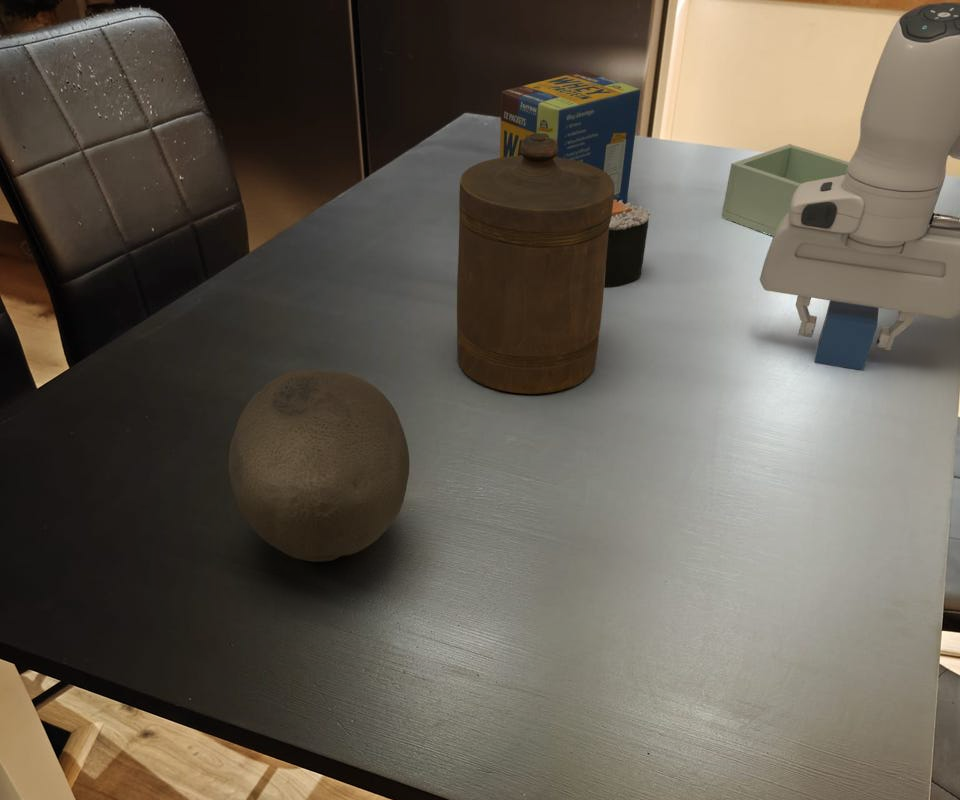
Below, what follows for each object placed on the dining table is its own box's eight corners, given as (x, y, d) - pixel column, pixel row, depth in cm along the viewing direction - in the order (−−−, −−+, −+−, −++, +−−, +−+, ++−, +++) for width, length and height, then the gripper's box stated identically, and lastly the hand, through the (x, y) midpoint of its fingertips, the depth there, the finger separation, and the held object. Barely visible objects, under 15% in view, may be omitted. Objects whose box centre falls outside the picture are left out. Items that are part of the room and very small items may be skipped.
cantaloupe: (207, 562, 75) (165, 395, 65) (322, 478, 84) (301, 319, 73) (342, 631, 70) (321, 462, 59) (450, 534, 78) (449, 371, 68)
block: (864, 349, 102) (879, 305, 99) (862, 370, 99) (877, 326, 96) (818, 341, 104) (830, 298, 100) (814, 362, 100) (827, 318, 97)
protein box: (496, 217, 128) (499, 90, 117) (574, 191, 136) (584, 69, 125) (549, 240, 123) (558, 109, 112) (628, 212, 130) (643, 86, 119)
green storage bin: (868, 227, 128) (884, 172, 123) (812, 251, 121) (827, 195, 116) (777, 196, 135) (789, 143, 131) (721, 217, 129) (731, 163, 124)
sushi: (605, 292, 112) (612, 224, 106) (560, 268, 117) (565, 201, 111) (654, 276, 115) (663, 209, 110) (608, 253, 120) (616, 188, 114)
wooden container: (620, 352, 101) (648, 130, 86) (549, 411, 92) (567, 175, 77) (506, 315, 107) (513, 101, 92) (429, 367, 98) (422, 140, 83)
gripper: (997, 210, 90) (945, 343, 100) (783, 182, 95) (753, 313, 105) (1001, 234, 86) (946, 371, 96) (775, 204, 91) (745, 337, 100)
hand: (843, 340), depth 100 cm, fingers open, 7 cm apart
